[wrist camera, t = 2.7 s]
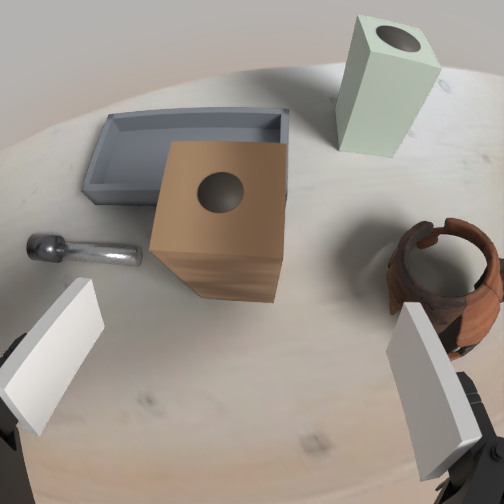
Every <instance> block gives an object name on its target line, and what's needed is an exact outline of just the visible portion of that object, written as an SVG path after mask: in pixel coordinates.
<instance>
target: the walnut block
mask: <svg viewBox="0 0 504 504" xmlns="http://www.w3.org/2000/svg"><path fill="white" fill-rule="evenodd" d="M286 158H287V144H285V143H267V142H239V141H177V142H171V146H170V150H169V154H168V158H167V162H166V167H165V171H164V175H163V180H162V184H161V189H160V194H159V198H158V203H157V208H156V213H155V218H154V223H153V229H152V234H151V240H150V245H149V251H150V252H152V253H153V254H154V255H155V256H156V257H157V258H158V259H159V260H160V261H161V262H162V263H163V264H165V265H166V266H167V267H168V268H169V269H170V270H171V271H172V272H173V273H174V274H176V275H177V276H178V277H179V278H180V279H181V280H182V281H183V282H185V283H186V284H187V285H188V286H189V287H190V288H191V289H192V290H194V291H195V292H196V293H197V294H198V295H199V296H200V297H202V298H208V299H221V300H234V301H248V302H264V303H274V299H275V294H276V289H277V285H278V280H279V275H280V270H281V266H282V261H283V249H284V224H285V195H286Z"/></svg>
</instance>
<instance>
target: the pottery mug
mask: <svg viewBox="0 0 504 504" xmlns="http://www.w3.org/2000/svg"><path fill="white" fill-rule="evenodd" d="M433 226H434V225H433V223H432V222H427V221H422V222H420V223H418V224H416V225H415V226H413V227H412V228H411V229H410V230H408V231H407V232H406V233H405V234H404V236H403V237H402V238H401V240H400V242H399V245H398V248H397V249H396V251H395V252H394V253H393V255H392V257H391V259H390V261H389V263H388V268H389V270H388V272H387V283H388V287H389V295H390V304H389V305H390V314H391V315H394V314H395V313H396V312H397V311H398V310H401V309H402V307H403V304H404V302H418V303H420V304H421V305H422V307H423V309H424V311H425V313H426V315H427V316H428V318H429V320H430V322H431V324H432V326H433V328H434V330H435V331H436V333H437V335H438V334H439V333H441V332H442V331H444V330H445V329H446V328H447V327H448V326H449V324H451V323H452V322H453V321H454V320H455V319H456V318H458V317H459V316H460V328H459V332H458V334H457V337H456V343H457V346H459V347H461V348H460V349H459V350H458V351H456V352H451V353H447V355H448V357H449V359H450V361H452V360H455V359H457V358H459V357H462V356H464V355H465V354H467V353H468V352H469V351H471V350H472V349H473V348H474V347H475V346H476V345H477V344H479V343H480V341H481V340H482V339H483V338H484V337H485V336H486V335H487V334H488V333H489V330H490V329H491V327H492V325H493V324H494V322H495V320H496V318H497V316H498V313H499V311H500V303H501V302H504V259H501V258H499V257H498V253H497V250H496V248H495V246H494V244H493V242H491V240H490V239H489V237H488V236H487V235H486V234H485V233H484V232H482V231H481V230H480V229H479V228H478V227H476V226H474V225H473V224H470V223H468V222H466V221H463V220H460V219H455V218H446V220H445V226H444V227H438V228H433ZM440 234H447V235H454V236H458V237H461V238H464V239H466V240H468V241H470V242H471V243H473V244H474V245H476V246H477V247H478V248H479V249H480V250H481V251H482V253H483V254H484V256H485V258H486V261H487V267H486V269H485V271H484V273H483V274H482V276H481V277H480V279H479V280H478V281H477V282H476V283H475V285H474V288H475V290H474V291H473V292H471V293H468V294H466V295H464V296H462V297H445V296H441V295H437V294H435V293H432V292H430V291H428V290H426V289H425V288H423V287H422V286H421V285H419V284H418V283H417V282H416V280H415V279H414V278H413V276H412V274H411V272H410V270H409V267H408V263H407V259H408V254H409V252H410V250H411V248H412V247H413V246H414V244H415V243H416V244H417V245H418V247H419V248H420V249H425V248H427V247H430V246H432V245H434V244H436V243H437V242H438V236H439V235H440Z"/></svg>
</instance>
